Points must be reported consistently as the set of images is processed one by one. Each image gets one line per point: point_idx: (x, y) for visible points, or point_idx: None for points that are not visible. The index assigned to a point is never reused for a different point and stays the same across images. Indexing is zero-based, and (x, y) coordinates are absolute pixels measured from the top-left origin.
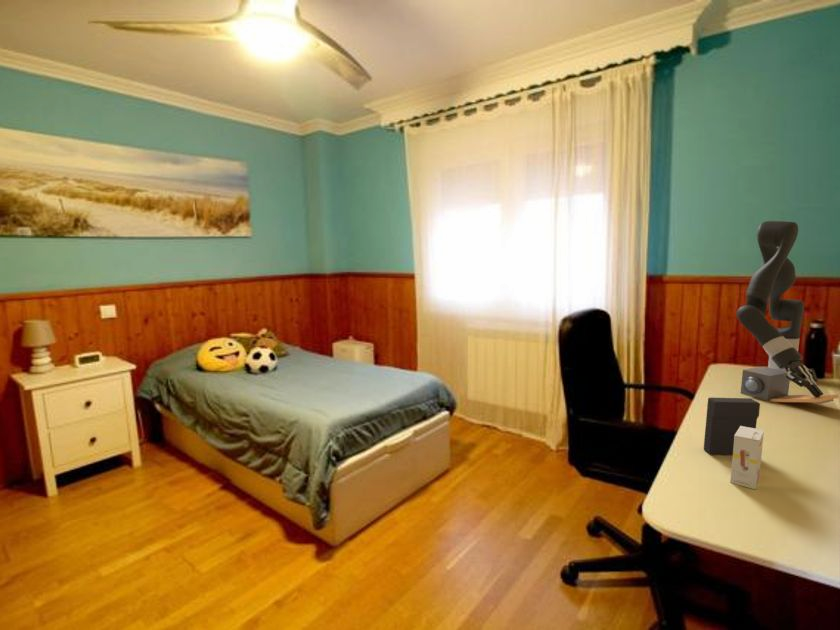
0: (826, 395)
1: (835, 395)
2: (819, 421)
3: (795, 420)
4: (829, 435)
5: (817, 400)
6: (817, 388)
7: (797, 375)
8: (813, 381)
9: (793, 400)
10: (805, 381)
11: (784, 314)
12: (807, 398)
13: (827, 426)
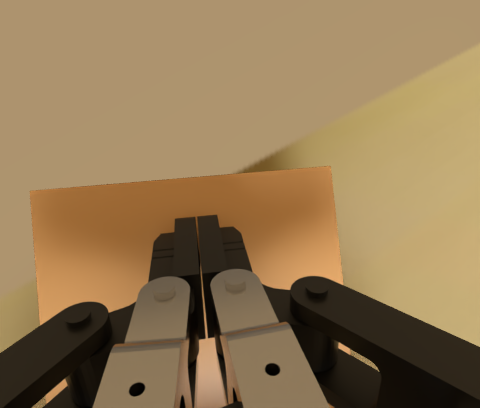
0: (92, 248)
1: (75, 187)
2: (348, 168)
3: (461, 215)
4: (466, 61)
5: (328, 178)
6: (199, 245)
7: (476, 381)
8: (166, 302)
9: (347, 349)
10: (342, 294)
11: None
12: (302, 270)
13: (375, 118)
